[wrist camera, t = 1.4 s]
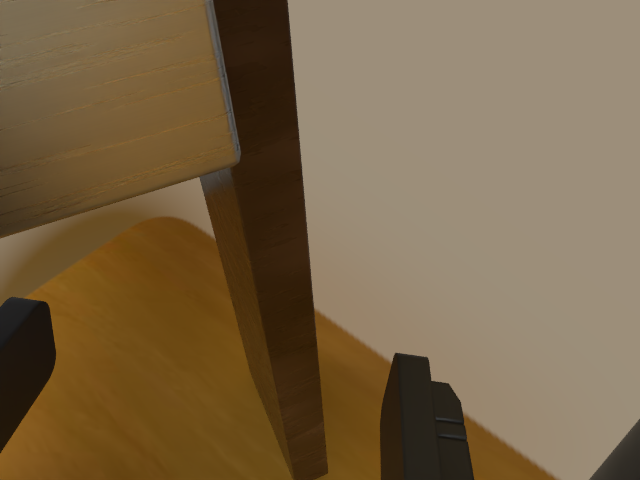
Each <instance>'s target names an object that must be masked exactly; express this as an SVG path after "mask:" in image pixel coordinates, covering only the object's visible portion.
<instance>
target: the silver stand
mask: <svg viewBox="0 0 640 480" xmlns="http://www.w3.org/2000/svg"><path fill="white" fill-rule="evenodd" d="M240 155H241V151H240V146H239V140H238V135H237V129H236V124H235V119H234V113H233V108H232V102H231V97H230V91H229V86H228V80H227V75H226V70H225V64H224V59H223V53H222V48H221V42H220V37H219V31H218V26H217V21H216V15H215V10H214V4H213V0H0V238H3V237H6V236H9V235H13V234H16V233H19V232H22V231H25V230H29V229H32V228H35V227H38V226H42V225H45V224H48V223H51V222H55V221H57V220H61V219H64V218H67V217H71V216H74V215H77V214H80V213H84V212H87V211H90V210H93V209H97V208H100V207H103V206H106V205H110V204H113V203H116V202H119V201H122V200H125V199H129V198H132V197H136V196H138V195H142V194H145V193H148V192H151V191H155V190H158V189H161V188H165V187H168V186H171V185H174V184H178V183H181V182H184V181H187V180H191V179H194V178H197V177H200V176H203V175H207V174H210V173H213V172H216V171H220V170H223V169H226V168H229V167H233V166H235V165H236V164H238V163H239V161H240Z"/></svg>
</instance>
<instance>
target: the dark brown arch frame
mask: <svg viewBox="0 0 640 480" xmlns="http://www.w3.org/2000/svg"><path fill="white" fill-rule="evenodd" d="M213 4H214V10H215V15H216V21H217V26H218V31H219V37H220V42H221V48H222V53H223V59H224V64H225V70H226V75H227V80H228V86H229V91H230V97H231V102H232V108H233V113H234V119H235V124H236V129H237V135H238V140H239V146H240V151H241V155H240V161H239V163H238V164H236V165H235V166H233V167H229V168H226V169H223V170H220V171H216V172H213V173H210V174H207V175H203V176H200V181H201V185H202V189H203V192H204V196H205V200H206V204H207V208H208V212H209V215H210V219H211V223H212V227H213V231H214V234H215V238H216V242H217V246H218V250H219V254H220V257H221V261H222V265H223V269H224V273H225V277H226V280H227V284H228V288H229V292H230V296H231V299H232V303H233V307H234V311H235V315H236V319H237V322H238V326H239V330H240V334H241V338H242V342H243V345H244V349H245V353H246V357H247V361H248V364H249V368H250V372H251V375H252V378H253V380H254V383H255V385H256V388H257V390H258V393H259V395H260V398H261V400H262V403H263V405H264V408H265V410H266V413H267V415H268V418H269V420H270V423H271V425H272V428H273V430H274V433H275V435H276V438H277V440H278V443H279V445H280V448H281V451H282V453H283V456H284V458H285V461H286V463H287V466H288V468H289V471H290V473H291V476H292V478H293V480H314V479H316V478H318V477H320V476H323V475H325V474H327V473H328V467H327V455H326V444H325V432H324V420H323V409H322V397H321V385H320V374H319V362H318V350H317V339H316V327H315V315H314V304H313V293H312V281H311V269H310V257H309V246H308V234H307V222H306V211H305V199H304V187H303V176H302V164H301V153H300V141H299V129H298V118H297V106H296V94H295V83H294V71H293V59H292V47H291V36H290V24H289V12H288V2H287V0H213Z"/></svg>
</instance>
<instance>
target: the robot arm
mask: <svg viewBox="0 0 640 480" xmlns="http://www.w3.org/2000/svg"><path fill="white" fill-rule="evenodd" d="M55 360H56V349H55V342H54V335H53V329H52V322H51V315H50V309H49V305H48V304H47V303H46V302H44V301H37V300H30V299H23V298H16V297H11V298H9V299H7V300H6V301H5V302H4V303H3V305H2V306H1V307H0V453H1V451H2V450H3V448H4V447H5V445H6V444H7V442H8V441H9V439H10V438H11V436H12V435H13V433H14V432H15V430H16V429H17V427H18V426H19V424H20V423H21V421H22V420H23V418H24V416H25V415H26V413H27V412H28V410H29V409H30V407H31V406H32V404H33V403H34V401H35V400H36V398H37V397H38V395H39V394H40V392H41V391H42V389H43V388H44V386H45V385H46V383H47V382H48V380H49V378H50V376H51V374H52V372H53V369H54V365H55ZM380 451H381V480H474V476H473V470H472V464H471V459H470V453H469V447H468V442H467V435H466V430H465V425H464V418H463V412H462V407H461V402H460V400H459V399H458V397H457V396H456V394H455V393H454V391H453V390H452V388H451V387H450V385H449V384H448V383H442V382H435V381H431V374H430V366H429V360H428V358H427V357H421V356H415V355H407V354H400V353H395V355H394V358H393V361H392V366H391V370H390V374H389V378H388V382H387V386H386V390H385V394H384V398H383V403H382V410H381V420H380Z"/></svg>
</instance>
